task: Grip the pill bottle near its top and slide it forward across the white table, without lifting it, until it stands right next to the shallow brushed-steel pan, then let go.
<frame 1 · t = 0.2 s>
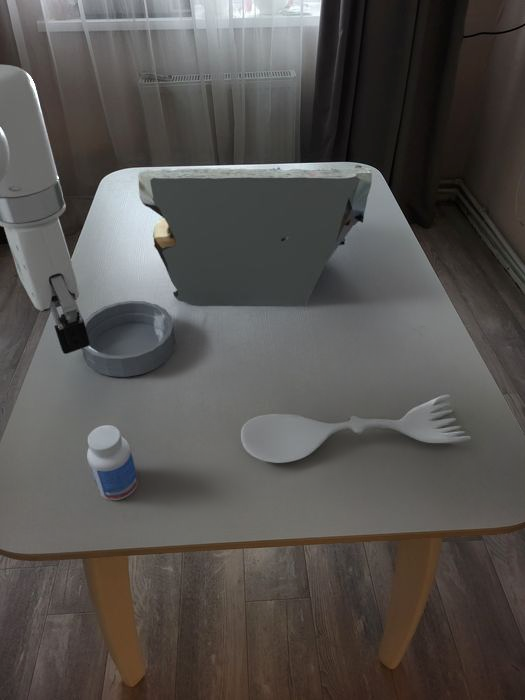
hand: (64, 327, 69), 20 cm above the table, tool pointing down, fingers open, 9 cm apart
basket: (257, 269, 116), on the table
spoon: (350, 439, 81), on the table
pill bottle: (118, 485, 75), on the table
pan: (130, 348, 97), on the table
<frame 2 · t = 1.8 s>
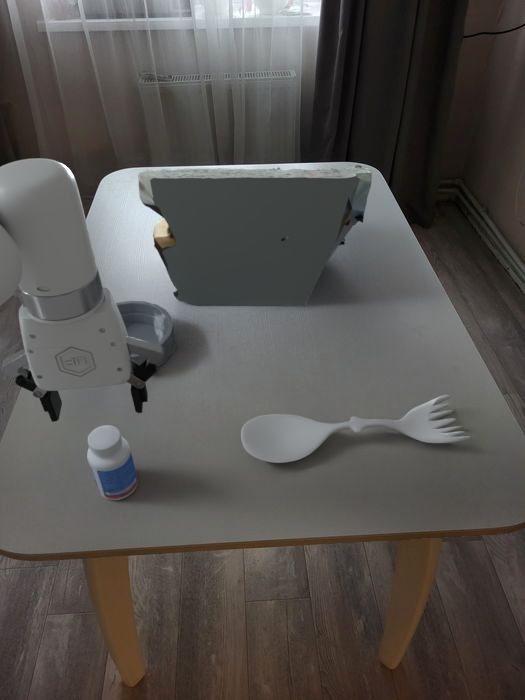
hand: (98, 408, 66), 15 cm above the table, tool pointing down, fingers open, 9 cm apart
nothing on the table moved.
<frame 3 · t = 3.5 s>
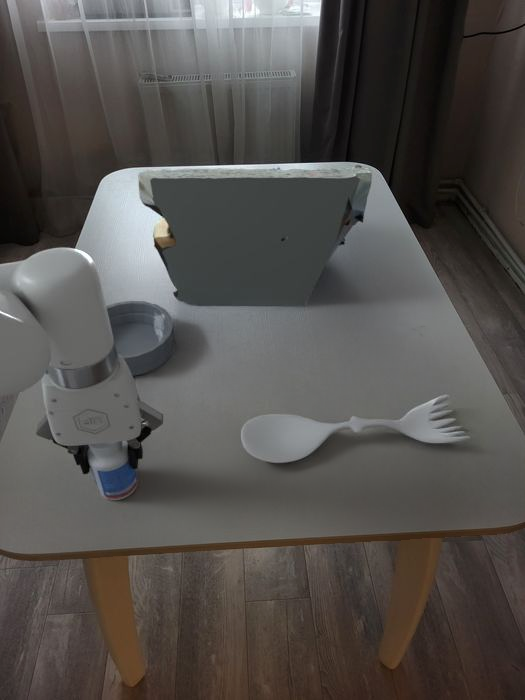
hand: (111, 461, 72), 5 cm above the table, tool pointing down, fingers closed on pill bottle, 5 cm apart
pill bottle: (118, 485, 75), on the table, touching gripper
everything else where it was.
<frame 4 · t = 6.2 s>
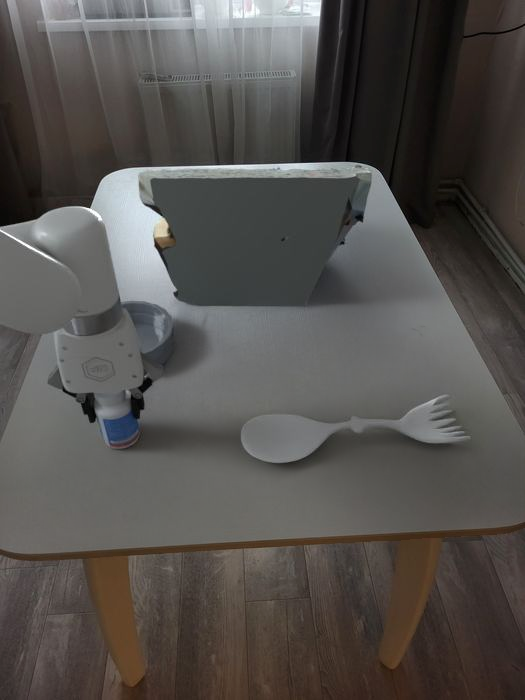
hand: (115, 412, 78), 5 cm above the table, tool pointing down, fingers closed on pill bottle, 5 cm apart
pill bottle: (121, 436, 82), on the table, touching gripper
everything else where it was.
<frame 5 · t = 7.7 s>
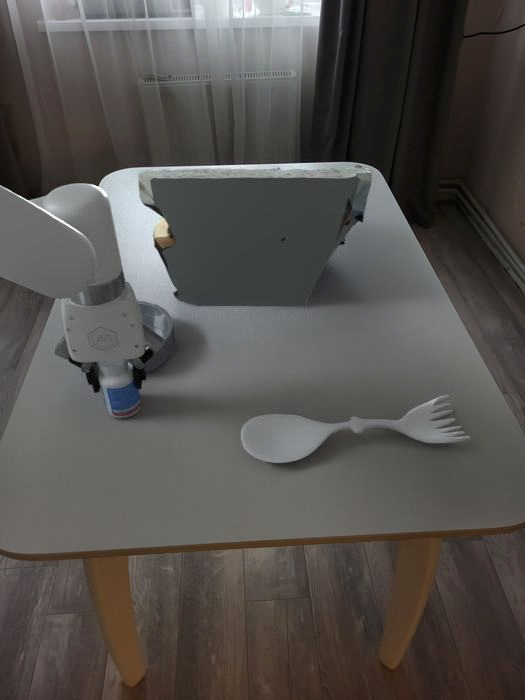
hand: (118, 383, 83), 5 cm above the table, tool pointing down, fingers closed on pill bottle, 5 cm apart
pill bottle: (124, 407, 86), on the table, touching gripper
everything else where it was.
when the fingers open (5 cm above the table, at t = 8.9 s): pill bottle stays where it is, on the table.
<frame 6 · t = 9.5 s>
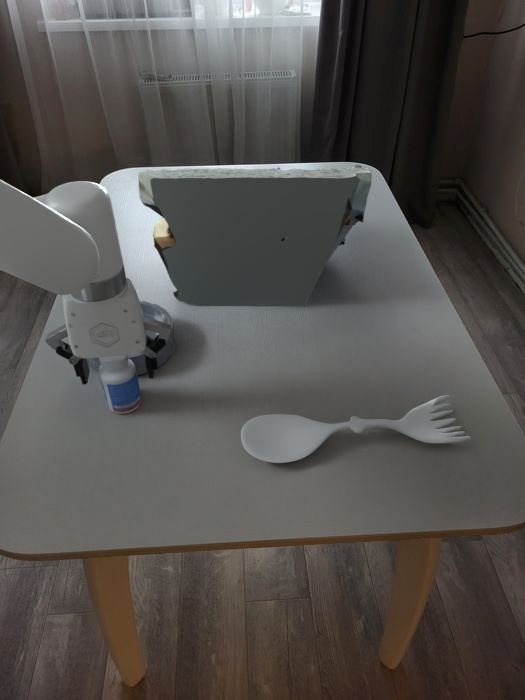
hand: (119, 375, 83), 6 cm above the table, tool pointing down, fingers open, 9 cm apart
pill bottle: (124, 403, 87), on the table
everything else where it was.
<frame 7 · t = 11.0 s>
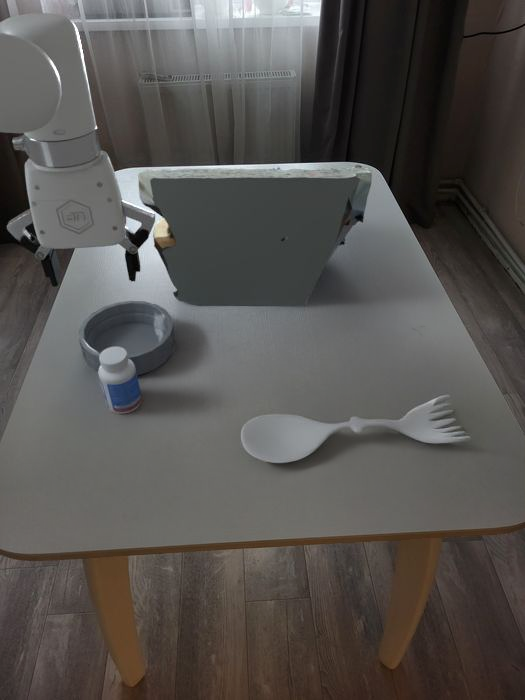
hand: (95, 278, 72), 23 cm above the table, tool pointing down, fingers open, 9 cm apart
nothing on the table moved.
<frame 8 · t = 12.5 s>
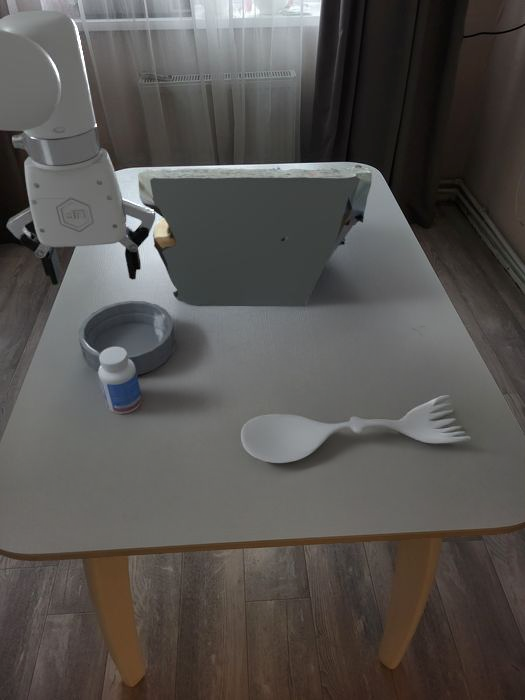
hand: (95, 276, 72), 23 cm above the table, tool pointing down, fingers open, 9 cm apart
nothing on the table moved.
at the end: pill bottle 13.1 cm from the pan (horizontally); pill bottle tilted 0°; pill bottle moved 15.5 cm from its start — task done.
